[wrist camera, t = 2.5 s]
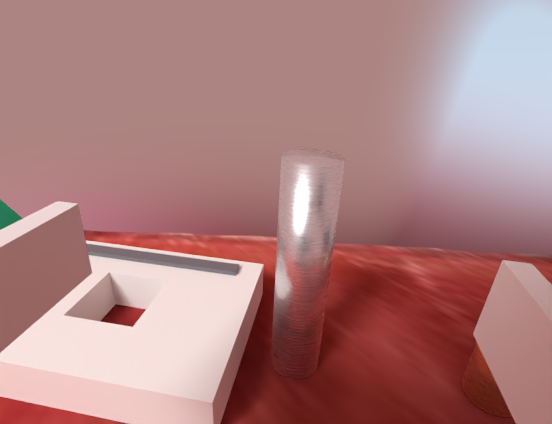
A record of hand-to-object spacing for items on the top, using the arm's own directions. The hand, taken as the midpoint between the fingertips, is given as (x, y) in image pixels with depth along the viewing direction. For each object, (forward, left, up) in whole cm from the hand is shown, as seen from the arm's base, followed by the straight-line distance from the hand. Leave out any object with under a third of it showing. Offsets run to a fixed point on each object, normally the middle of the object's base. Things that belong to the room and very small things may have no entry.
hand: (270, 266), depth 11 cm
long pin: (+8, -6, -15) cm, 18 cm away
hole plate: (+16, +6, -15) cm, 23 cm away
